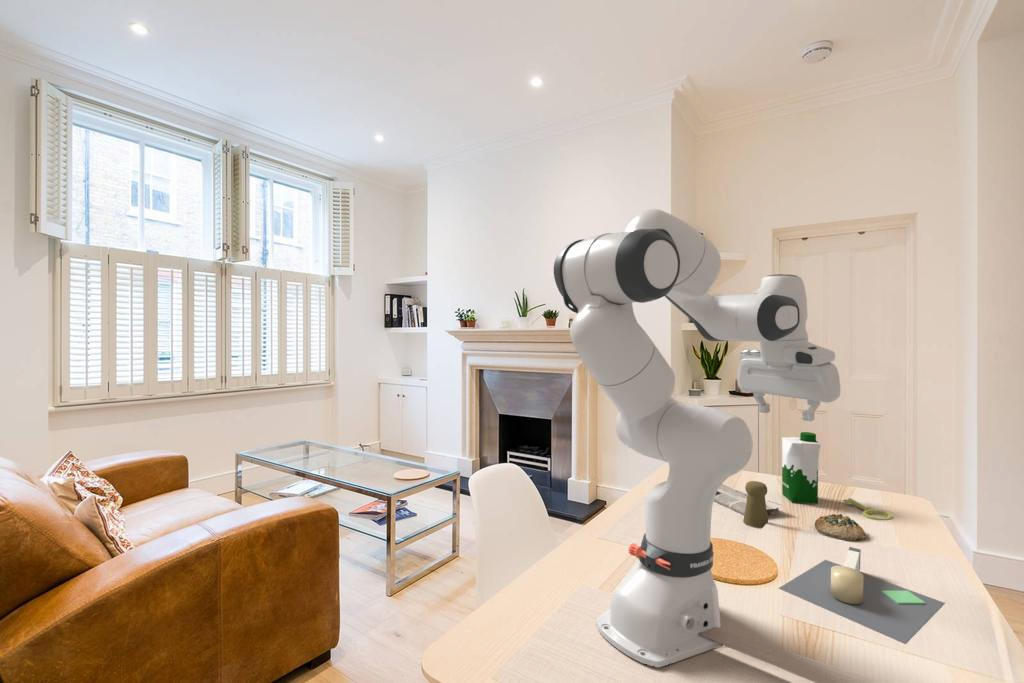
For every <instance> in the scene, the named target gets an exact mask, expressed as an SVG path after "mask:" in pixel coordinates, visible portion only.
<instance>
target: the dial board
mask: <svg viewBox="0 0 1024 683" xmlns="http://www.w3.org/2000/svg"><path fill="white" fill-rule="evenodd" d="M833 566H843V565H842V564H839V563H836V562H833V561H830V560H827V559H824V560H822V561H821V562H819V563H817V564H816V565H814V566H812V567H810V568H809V569H807V570H806V571H804V572H803V573H801V574H799V575H798V576H795V578H793V579H792V580H790V581H788V582H786V583H784V584H783V585H782V586H779V587H778V589H779V590H782V591H784V593H785V592H786V593H788V594H790V595H793V596H794V597H795V596H796V597H797V598H799V599H802V600H804V601H806V602H808V603H811V604H813V605H815V606H817V607H821V608H822V609H824V610H827V611H829V612H831V613H834V614H836V615H838V616H841V617H843V618H845V619H847V620H850V621H851V622H854V623H857V624H859V625H861V626H864V627H865V628H868V629H870V630H872V631H875V632H877V633H879V634H882V635H884V636H886V637H889V638H891V639H893V640H895V641H897V642H900V643H902V644H904V645H906V644H907V643H908V642H909V641H910V640H911V639H912V638H913V637H914V635H916V633H918V632H919V631H920V629H922V627H923V626H925V624H927V622H928V621H929V620H930V619H932V617H933V616H934V615H935V614H936V613H937V612H938V611H939V610H940V609H941V608H942V607H943V606H944V605H945V604H946V603H945V602H944V601H941V600H938V599H934V598H933V597H930V596H927V595H925V594H921V593H918V592H916V591H914V590H911V589H908V588H905V587H902V586H899V585H896V584H894V583H891V582H888V581H885V580H883V579H881V578H877V577H874V576H872V575H869V574H866V573H863V572H861V573H862V574H863V576H864V577H863V602H862V603H860V604H850V603H846V602H843V601H840V600H838V599H836V598H835V597H833V596H832V595H831V568H832V567H833Z"/></svg>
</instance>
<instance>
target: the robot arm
mask: <svg viewBox="0 0 1024 683" xmlns="http://www.w3.org/2000/svg"><path fill="white" fill-rule="evenodd" d="M721 260H722V259H721V254H720V252H719V250H718V249H717V247H716V245H715V244H714V243H713V242H712V241H711V240H710V239H709V238H707V237H706V236H705V235H703V233H702V232H700V231H699V230H697V229H696V228H694V227H693V226H691V225H690V224H689V223H687V222H686V221H684V220H682V219H681V218H679V217H677V216H674V215H673V214H671V213H668V212H667V211H664V210H661V209H657V208H653V209H652V208H651V209H646V210H643V211H641V212H639V213H638V214H636V215H635V216H633V217H632V219H630V221H629V222H627V224H626V226H625V228H624V231H621V232H620V231H619V232H610V233H609V232H608V233H607V232H605V233H602V234H598V235H594V236H591V237H590V236H589V237H588V238H585V239H577V240H575V241H573V242H571V243H569V244H567V245H566V246H565V247H563V248H562V249H561V250H560V251H559V252H558V254H557V255H556V256H555V260H554V263H553V277H554V282H555V284H556V287H557V290H558V292H559V293H560V295H561V296H562V298H563V302H564V303H563V304H564V305H565V307H567V309H568V310H570V311H572V312H574V313H576V315H575V316H574V318H573V320H572V321H571V324H570V327H569V336H570V340H571V342H572V344H573V346H574V349H575V350H576V352H577V354H578V356H579V358H580V359H581V361H582V363H583V364H584V366H585V367H586V369H587V371H588V372H589V374H590V375H591V376H592V378H593V379H594V380H595V381H596V383H597V384H598V385H599V386H600V388H601V389H602V390H603V391H604V393H606V395H607V396H608V398H609V399H610V401H611V402H612V403H613V404H614V405H615V407H616V409H617V410H618V412H617V416H616V418H615V419H616V420H615V429H616V430H615V431H616V435H617V437H618V439H619V441H620V442H621V443H622V444H623V445H624V446H627V447H628V448H629V449H631V450H633V451H635V452H636V453H638V454H640V455H642V456H645V457H648V458H652V459H655V460H658V461H662V462H665V463H668V465H669V466H668V467H669V472H668V476H667V479H666V480H665V481H663V482H660V483H658V484H656V485H654V486H653V487H652V488H651V489H650V490H649V491H648V493H647V494H646V497H645V533H644V534H643V536H642V540H641V543H640V546H639V545H638V544H636V543H634V542H633V543H631V544H630V545H629V547H628V553H629V554H630V555H631V556H634V557H635V558H637V561H636V562H635V563H634V564H633V566H632V567H631V568H630V569H629V570H628V572H627V573H626V575H625V576H624V577H623V579H622V580H621V581H620V582H619V583H618V585H617V586H616V587H615V588H614V590H613V592H612V595H611V602H610V608H608V609H607V610H605V611H604V612H603V613H602V614H600V615H599V616H598V617H597V618H596V623H595V625H596V627H597V630H598V632H599V633H600V635H601V636H602V637H603V638H604V639H605V640H606V641H607V642H609V643H610V645H612V647H615V648H616V649H617V650H619V651H620V652H621V653H623V654H624V655H626V656H628V657H630V658H631V659H633V660H635V661H637V662H639V663H642V664H643V665H644V664H645V665H646V664H647V666H650V667H653V666H654V668H663V667H665V665H666V666H668V664H669V665H671V664H674V663H677V662H681V661H682V660H685V659H689V658H691V657H694V656H697V655H699V654H702V653H705V652H707V651H710V650H714V649H716V648H718V647H721V646H724V644H723V643H721V642H719V641H716V640H714V639H712V638H709V637H706V636H703V635H702V634H700V633H703V632H706V631H709V630H711V629H713V628H717V629H718V628H721V625H722V624H721V614H720V604H719V602H720V601H719V594H718V592H719V591H718V588H717V585H716V583H715V580H714V576H713V572H712V568H713V566H714V555H715V554H714V547H713V546H714V545H713V543H712V541H711V529H712V526H711V524H712V511H713V504H714V501H713V500H714V497H715V495H716V492H717V490H718V488H719V487H720V485H721V484H722V483H724V482H725V481H726V480H727V479H728V478H730V477H732V476H734V475H736V474H738V473H739V472H741V470H742V469H744V468H745V466H746V465H747V464H748V463H749V461H750V459H751V456H752V453H753V446H754V445H753V442H754V441H753V436H752V433H751V429H750V428H749V426H748V425H747V423H746V421H745V420H744V419H742V418H740V417H738V416H736V415H734V414H731V413H729V412H726V411H724V410H721V409H719V408H716V407H711V406H706V405H705V406H704V405H699V404H691V403H686V402H682V401H679V400H677V399H676V398H673V397H672V396H673V394H674V391H675V387H676V386H675V385H676V377H675V372H674V370H673V369H672V367H671V366H670V364H669V363H668V361H667V360H666V358H664V356H663V354H662V353H661V352H660V350H659V349H658V347H657V346H656V345H655V343H654V341H653V340H652V338H651V337H650V336H649V334H648V333H647V332H646V331H645V330H644V329H643V327H642V325H640V324H639V323H638V321H637V318H636V316H635V312H634V307H633V303H639V304H642V303H643V304H644V303H650V302H652V301H656V300H658V299H659V300H660V299H661V298H663V297H665V299H667V300H668V301H669V302H670V303H671V304H672V305H673V306H674V307H676V308H677V309H678V310H679V311H680V312H681V313H683V314H684V315H685V316H686V317H687V318H688V319H689V320H690V321H691V322H692V323H693V325H694V327H695V328H696V329H697V331H698V333H699V334H700V335H701V336H702V337H703V338H704V339H705V340H707V341H710V342H727V341H731V342H748V343H750V342H752V343H754V342H756V343H759V348H760V349H755V350H752V349H745V350H744V351H742V352H740V354H739V355H738V370H737V387H738V388H739V390H741V391H745V392H750V393H751V392H752V394H753V398H754V400H755V401H756V403H757V404H758V412H759V413H763V414H768V413H770V411H771V409H770V408H771V404H770V403H767V401H766V400H765V398H764V396H766V395H773V396H779V397H786V398H793V399H799V400H807V401H806V402H807V405H808V406H809V407H808V409H807V410H805V411H802V413H801V414H802V420H803V421H807V422H813V421H814V420H815V413H816V411H817V409H818V408H819V406H820V405H821V403H827V404H828V403H831V402H834V401H837V400H838V399H839V397H840V396H841V381H840V374H839V370H838V368H837V366H836V365H835V364H834V363H832V362H834V361H835V360H836V353H835V351H833V350H831V349H828V348H825V347H822V346H821V345H817V344H814V343H812V342H809V334H808V332H807V328H806V327H807V325H806V323H807V320H808V300H807V294H806V293H807V292H806V286H805V282H804V280H803V279H802V277H800V276H798V275H795V274H783V273H782V274H770V275H765V276H763V277H762V278H761V280H760V286H759V288H758V289H757V290H754V291H753V292H752V293H747V294H709V293H708V292H709V290H711V289H712V287H713V286H714V285H715V283H716V281H717V280H718V278H719V276H720V272H721V267H722V261H721ZM670 663H671V664H670ZM662 666H663V667H662Z"/></svg>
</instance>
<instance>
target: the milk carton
mask: <svg viewBox="0 0 1024 683" xmlns="http://www.w3.org/2000/svg"><path fill="white" fill-rule="evenodd" d="M781 445H782V446H781V447H782V448H781V449H782V451H781V452H782V456H781V457H782V458H781V460H782V461H781V462H782V463H781V464H782V465H781V468H782V469H781V470H782V472H781V475H782V476H781V489H782V490H781V492H782V496H783V497H785V498H786V499H787V500H788V501H790V503H792V504H812V505H813V504H815V505H818V504H819V456H820V452H821V451H820V449H821V445H822V444H821V443H820V442H819V441H817V434H816V433H814V432H810V431H809V432H807V431H802V432H800V436H799V437H795V436H790V437H787V436H783V437H782V436H781Z"/></svg>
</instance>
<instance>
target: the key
mask: <svg viewBox="0 0 1024 683" xmlns="http://www.w3.org/2000/svg"><path fill="white" fill-rule="evenodd" d="M843 502H845V504H847V503H848V504H852V505H853V506H855V507H856V508H859V509H861V510H862V511H863V512H862V516H863V518H866V519H869V520H872V521H873V520H874V521H891V520H892V519H893V515H892V514H891V513H889V512H887V511H884V510H881V509H880V510H879V509H872V508H871V507H869V506H865V505H863V504H862V503H859V502H858V501H856V500H855V499H853V498H851V497H849V498H847V499H843ZM872 515H882V516H884V517H876V516H872Z"/></svg>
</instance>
